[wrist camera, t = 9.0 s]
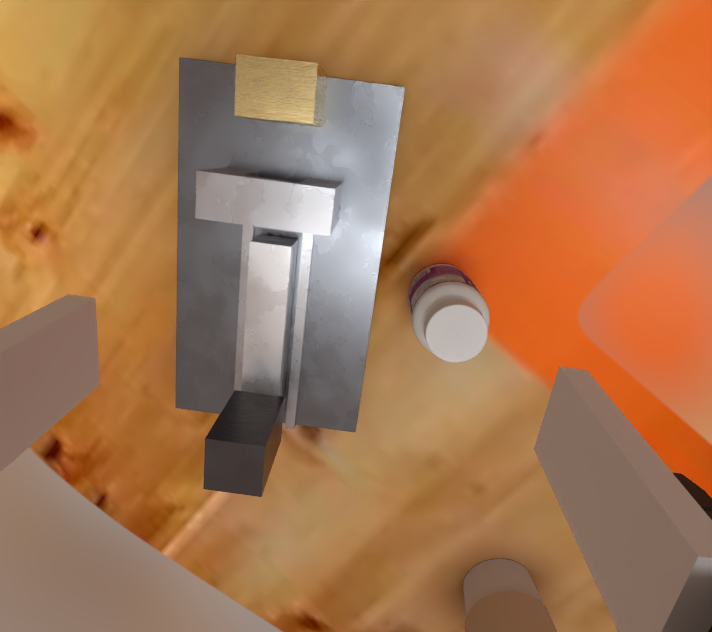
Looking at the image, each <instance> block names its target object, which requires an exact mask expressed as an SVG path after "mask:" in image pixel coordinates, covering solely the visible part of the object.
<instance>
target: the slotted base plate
mask: <svg viewBox="0 0 712 632" xmlns="http://www.w3.org/2000/svg"><path fill="white" fill-rule="evenodd" d="M235 74H236V65H233V64H226V63H218V62H211V61H203V60H196V59H188V58H180V61H179V150H178V240H177V330H176V408H181V409H188V410H195V411H203V412H210V413H217V414H221V412H222V410H223V409H224V407H225V405H226V404H227V402H228V400H229V399H230V397H231V396H232V394H233V392H234V391H235V390H238V391H241V384H242V367H243V349H244V332H245V315H246V298H247V280H248V263H249V246H250V241H251V240H252V239H254V238H255V237H257V236H258V235H267V236H274V237H282V238H289V239H297V240H298V245H297V256H296V268H295V279H294V290H293V301H292V312H291V324H290V335H289V346H288V357H287V369H286V380H285V391H284V397H285V401H284V412H283V423H285V428H290V429H294V428H295V425H296V424H298V425H305V426H312V427H320V428H327V429H334V430H341V431H349V432H355V431H356V424H357V417H358V410H359V403H360V396H361V389H362V382H363V375H364V368H365V361H366V354H367V348H368V341H369V334H370V327H371V320H372V313H373V306H374V299H375V292H376V285H377V278H378V271H379V264H380V257H381V251H382V244H383V237H384V230H385V223H386V216H387V209H388V202H389V195H390V188H391V181H392V174H393V167H394V160H395V154H396V147H397V140H398V133H399V126H400V119H401V112H402V105H403V98H404V91H405V87H399V86H392V85H384V84H377V83H369V82H361V81H354V80H346V79H339V78H331V77H326V85H325V98H324V110H323V123H322V128H321V127H312V126H303V125H294V124H285V123H276V122H267V121H259V120H252V119H247V118H243V117H239V116H234V113H235Z"/></svg>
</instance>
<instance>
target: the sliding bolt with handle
mask: <svg viewBox="0 0 712 632" xmlns="http://www.w3.org/2000/svg"><path fill="white" fill-rule="evenodd" d="M297 245H298V240H297V239H289V238H282V237H274V236H267V235H258V236H257V237H255V238H254V239H252V240H251V241H250V246H249V263H248V280H247V298H246V315H245V332H244V349H243V367H242V384H241V391H238V390H235V391H234V392H233V394H232V396H231V397H230V399H229V400H228V402H227V404H226V405H225V407H224V409H223V410H222V412H221V414H220V415H219V417H218V419H217V420H216V422H215V423H214V425H213V427H212V428H211V430H210V432H209V433H208V435H207V437H206V438H205V461H204V489H208V490H215V491H222V492H230V493H237V494H244V495H251V496H259V497H262V494H263V491H264V488H265V485H266V482H267V479H268V476H269V474H270V471H271V468H272V465H273V462H274V459H275V456H276V453H277V450H278V447H279V445H280V442H281V434H282V423H283V412H284V401H285V397H284V391H285V380H286V369H287V357H288V346H289V335H290V324H291V312H292V301H293V290H294V279H295V268H296V256H297Z"/></svg>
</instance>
